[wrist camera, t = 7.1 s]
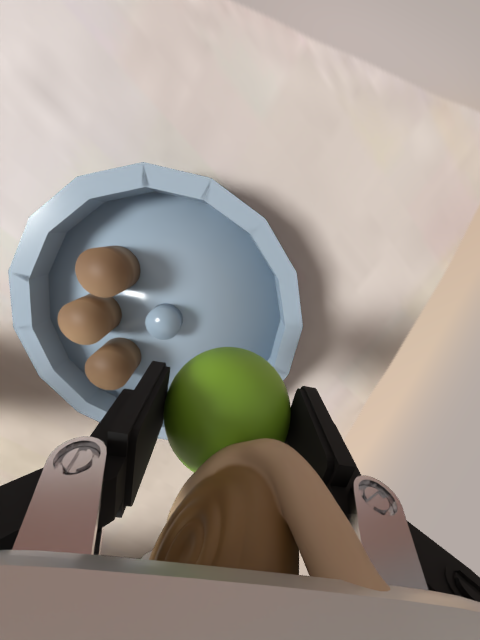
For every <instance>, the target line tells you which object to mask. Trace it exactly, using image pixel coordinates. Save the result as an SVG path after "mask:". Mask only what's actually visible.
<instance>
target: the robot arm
mask: <svg viewBox="0 0 480 640" xmlns="http://www.w3.org/2000/svg"><path fill="white" fill-rule="evenodd" d="M169 376H170V367H167V366H166V363H164V362H158V361H152V362H151V364H150V365H149V367H148V369H147V370H146V372H145V373H144V375H143V376H142V378H141V380H140V381H139V383H138V384H137V386H136V387H135V389H134V390H132V389H123V390H122V392H121V393H120V394H119V396H118V397H117V399H116V400H115V401H114V403H113V404H112V406H111V407H110V409H109V410H108V411H107V413H106V414H105V416H104V417H103V419H102V420H101V421H100V423H99V424H98V426H97V427H96V428H95V430H94V431H93V433H92V434H91V436H90V437H78V438H74V439H71V440H69V441H66V442H64V443H63V444H61V445H59V446H58V447H57V448H56V449H55V450H54V451H53V452H51V454H50V455H49V457H48V459H47V461H46V463H45V466H44V468H42V469H39V470H37V471H35V472H32V473H30V474H28V475H25V476H23V477H21V478H18V479H16V480H14V481H11V482H9V483H6V484H4V485H2V486H0V640H480V577H478V576H477V575H476V574H475V573H474V572H473V571H472V570H470V569H469V568H468V567H466V566H465V565H464V564H463V563H461V562H460V561H459V560H457V559H456V558H455V557H453V556H452V555H451V554H450V553H448V552H447V551H445V550H444V549H443V548H442V547H440V546H439V545H437V543H435V542H434V541H433V540H431V539H430V538H429V537H427V536H426V535H425V534H423V533H422V532H421V531H420V530H418V529H417V528H416V527H414V526H413V525H412V524H411V523H409V522H408V521H407V520H406V517H405V514H404V511H403V508H402V505H401V503H400V501H399V499H398V498H397V496H396V495H395V494H394V493H393V491H392V490H391V489H390V488H389V487H387V486H386V485H385V484H383V483H382V482H381V481H379V480H377V479H375V478H373V477H369V476H361V474H360V472H359V470H358V468H357V466H356V464H355V462H354V460H353V459H352V456H351V454H350V452H349V450H348V449H347V447H346V445H345V443H344V441H343V439H342V437H341V435H340V433H339V431H338V429H337V427H336V425H335V424H334V422H333V421H332V419H331V417H330V415H329V413H328V411H327V409H326V407H325V405H324V403H323V401H322V399H321V397H320V395H319V393H318V391H317V390H316V388H312V387H306V386H302V387H301V389H297V391H296V393H295V396H294V399H293V402H292V405H291V408H290V409H291V417H290V426H289V430H288V434H287V437H286V440H285V442H284V443H285V444H287V445H289V446H290V447H292V448H293V449H294V450H296V451H297V452H298V453H299V454H300V455H301V456H302V457H303V458H304V459H305V460H306V461H307V462H308V463H309V464H310V465H311V466H312V468H313V469H314V470H315V471H316V473H317V474H318V475H319V476H320V478H321V479H322V481H323V482H324V484H325V485H326V487H327V488H328V490H329V491H330V493H331V494H332V496H333V497H334V499H335V501H336V502H337V504H338V505H339V507H340V508H341V510H342V511H343V513H344V514H345V516H346V517H347V519H348V521H349V522H350V524H351V526H352V527H353V529H354V531H355V533H356V534H357V536H358V538H359V540H360V542H361V544H362V546H363V548H364V550H365V552H366V553H367V555H368V557H369V559H370V561H371V563H372V564H373V566H374V567H375V569H376V571H377V572H378V573H379V575H380V576H381V577H382V579H383V580H384V581H385V582H386V583H387V585H388V586H389V587H390V589H391V590H389V591H377V590H373V589H369V588H365V587H361V586H358V585H355V584H352V583H349V582H346V581H343V580H339V579H330V578H321V577H312V576H303V575H294V574H284V573H274V572H265V571H255V570H246V569H236V568H226V567H216V566H206V565H197V564H186V563H176V562H166V561H155V560H145V559H135V558H124V557H114V556H104V555H100V551H101V543H102V535H103V527H104V526H105V525H107V524H109V523H110V522H112V521H113V520H114V519H115V517H120V518H122V515H123V513H124V510H125V508H126V506H132V505H133V502H134V500H135V497H136V494H137V492H138V489H139V486H140V484H141V481H142V478H143V476H144V473H145V470H146V468H147V465H148V462H149V460H150V457H151V454H152V452H153V449H154V446H155V444H156V441H157V438H158V435H159V433H160V430H161V427H162V424H163V420H164V405H165V399H166V396H167V391H168V384H169Z"/></svg>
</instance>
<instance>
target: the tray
mask: <svg viewBox="0 0 480 640" xmlns="http://www.w3.org/2000/svg"><path fill="white" fill-rule="evenodd" d="M106 246H122V247H124V248H127V249H128V250H130V251H131V252H132V253H133V254H134V255H135V256H136V258H137V259H138V261H139V264H140V277H139V279H138V281H137V282H136V283H135V284H134V285H133V286H132V287H130V288H128V289H126V290H124V291H122V292H121V293H119V294H117V295H115V296H113V297H112V298H114V299H115V300H116V301H117V303H118V304H119V306H120V308H121V312H122V318H121V321H120V323H119V325H118V326H117V327H116V328H114V329H113V330H112V331H111V332H109V333H108V334H107V335H106V336H105V337H103V338H102V339H101V340H100V341H98V342H97V343H94V344H91V345H81V344H78V343H75V342H73V341H71V340H70V339H68V338H67V337H66V336H65V335H64V334H63V333H62V331H61V330H60V328H59V325H58V313H59V311H60V309H61V308H62V307H63V306H64V305H65V304H67V303H69V302H72V301H74V300H76V299H79V298H81V297H83V296H86V295H88V294H90V293H89V292H87V291H86V290H85V289H84V288H83V287H82V286H81V284H80V283H79V281H78V279H77V276H76V273H75V264H76V261H77V258H78V257H79V255H80V254H81V253H82V252H84V251H85V250H87V249H90V248H97V247H106ZM8 273H9V284H10V295H11V306H12V317H13V327H14V330H15V331H16V333H17V335H18V337H19V339H20V341H21V343H22V345H23V347H24V349H25V350H26V352H27V354H28V356H29V358H30V360H31V362H32V364H33V366H34V368H35V369H36V371H37V373H38V375H39V377H41V378H42V379H43V380H44V381H45V382H46V383H47V384H48V385H49V386H50V387H51V388H52V389H54V390H55V391H56V392H57V393H58V394H59V395H60V396H61V397H62V398H63V399H64V400H65V401H66V402H68V403H69V404H70V405H71V406H72V407H73V408H74V409H75V410H76V411H77V412H79V413H81V414H83V415H85V416H87V417H90V418H92V419H94V420H96V421H98V422H100V421H101V420H102V419H103V417H104V416H105V414H106V413H107V411H108V410H109V409H110V407H111V406H112V404H113V403H114V401H115V400H116V399H117V397H118V396H119V394H120V393H121V392H122V390H123V389H132V390H134V389H135V387H136V386H137V384H138V383H139V381H140V380H141V378H142V376H143V375H144V373H145V372H146V370H147V369H148V367H149V365H150V364H151V362H152V361H158V362H164V363H166V366H167V367H170V376H169V384H168V389H169V387H170V385H171V383H172V381H173V379H174V378H175V376H176V374H177V373H178V372H179V371H180V369H181V368H182V367H183V366H184V365H185V364H186V363H187V362H188V361H190V360H191V359H192V358H194V357H195V356H197V355H199V354H201V353H203V352H205V351H207V350H210V349H214V348H219V347H237V348H242V349H246V350H249V351H251V352H254V353H256V354H258V355H259V356H261V357H262V358H264V359H265V360H266V361H268V362H269V363H270V364H271V365H272V366H273V367H274V369H275V370H276V371H277V372H278V374H279V375H280V377H281V378H282V380H284V379H285V378H286V377H287V375H288V374H289V371H290V367H291V364H292V361H293V358H294V354H295V351H296V348H297V345H298V341H299V338H300V335H301V332H302V328H303V324H302V315H301V306H300V298H299V289H298V281H297V273H296V271H295V269H294V267H293V265H292V264H291V262H290V260H289V259H288V257H287V255H286V253H285V252H284V250H283V248H282V246H281V245H280V243H279V241H278V240H277V238H276V236H275V234H274V233H273V231H272V229H271V227H270V226H269V224H268V222H267V221H266V219H265V218H264V217H262V216H261V215H260V214H258V213H257V212H256V211H254V210H253V209H252V208H250V207H249V206H248V205H246V204H245V203H244V202H242V201H241V200H240V199H238V198H237V197H236V196H234V195H233V194H232V193H230V192H229V191H228V190H226V189H225V188H224V187H222V186H221V185H220V184H218V183H217V182H216V181H214V180H213V179H212V178H208V177H204V176H200V175H196V174H191V173H187V172H183V171H179V170H174V169H170V168H166V167H162V166H157V165H153V164H149V163H145V162H141V163H137V164H132V165H128V166H123V167H118V168H114V169H109V170H105V171H100V172H95V173H91V174H86V175H82V176H77V177H76V178H75V179H74V180H72V181H71V182H70V183H69V184H68V185H66V186H65V187H64V188H63V189H62V190H61V191H59V192H58V193H57V194H56V195H55V196H53V197H52V198H51V199H50V200H49V201H48V202H46V203H45V204H44V205H43V206H42V207H40V208H39V209H38V210H37V211H36V212H35V213H33V214H32V215H31V216H30V217H29V219H28V222H27V224H26V227H25V230H24V232H23V235H22V237H21V240H20V242H19V245H18V248H17V250H16V253H15V255H14V258H13V261H12V263H11V266H10V268H9V272H8ZM118 337H121V338H126V339H129V340H131V341H132V342H134V343H135V344H136V345H137V346H138V348H139V349H140V351H141V362H140V364H139V366H138V367H137V369H136V370H135V371H134V373H133V374H132V376H131V377H130V378H129V380H128V381H127V383H126V384H125V385H124V386H123V387H121V388H119V389H116V390H105V389H101V388H99V387H97V386H95V385H94V384H93V383H91V382H90V380H89V379H88V378H87V376H86V373H85V363H86V361H87V359H88V358H89V357H90V356H91V355H93V354H94V353H95V352H96V351H97V350H98V349H99V348H101V347H102V346H103V345H104V344H105V343H106V342H107V341H109V340H110V339H113V338H118ZM167 392H168V391H167ZM158 438H159V439H166V440H168V438H167V435H166V431H165V426H164V420H163V424H162V427H161V430H160V433H159V435H158Z"/></svg>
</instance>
